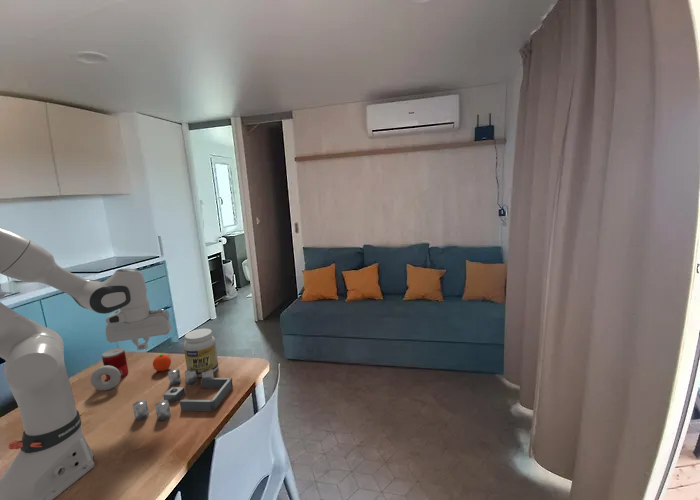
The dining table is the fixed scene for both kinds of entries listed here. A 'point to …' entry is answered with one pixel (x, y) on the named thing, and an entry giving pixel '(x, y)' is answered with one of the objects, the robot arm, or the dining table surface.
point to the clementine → (161, 362)
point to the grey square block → (174, 394)
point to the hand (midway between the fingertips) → (142, 348)
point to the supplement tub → (200, 351)
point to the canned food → (116, 361)
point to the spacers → (163, 406)
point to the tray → (209, 404)
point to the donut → (103, 385)
